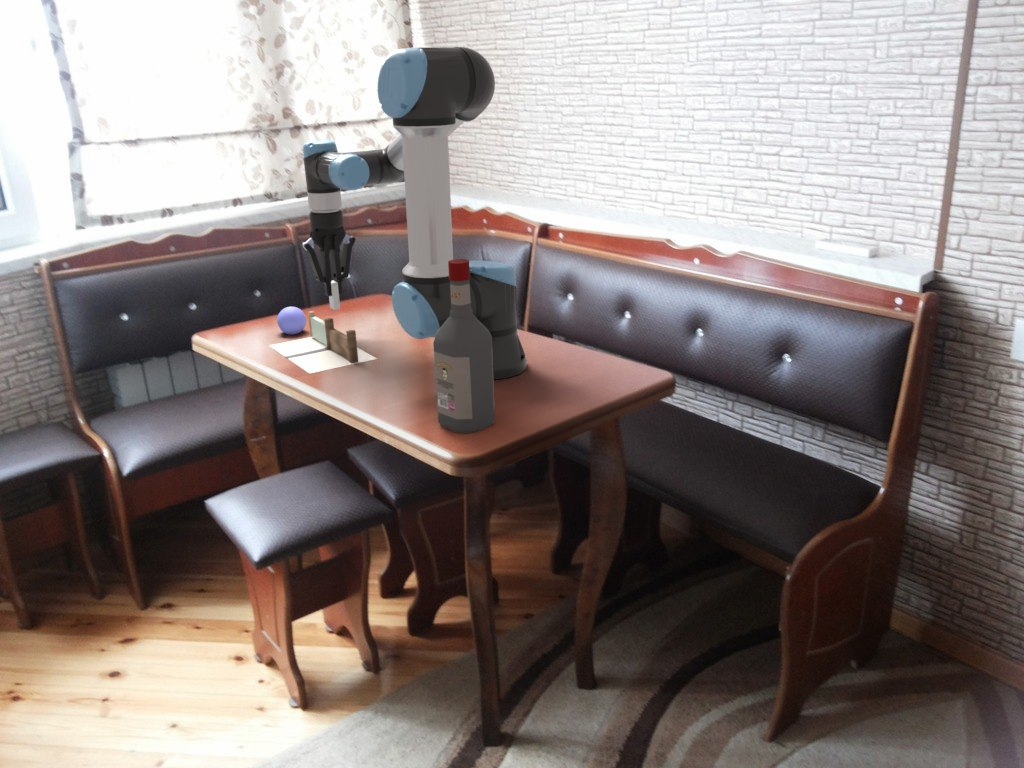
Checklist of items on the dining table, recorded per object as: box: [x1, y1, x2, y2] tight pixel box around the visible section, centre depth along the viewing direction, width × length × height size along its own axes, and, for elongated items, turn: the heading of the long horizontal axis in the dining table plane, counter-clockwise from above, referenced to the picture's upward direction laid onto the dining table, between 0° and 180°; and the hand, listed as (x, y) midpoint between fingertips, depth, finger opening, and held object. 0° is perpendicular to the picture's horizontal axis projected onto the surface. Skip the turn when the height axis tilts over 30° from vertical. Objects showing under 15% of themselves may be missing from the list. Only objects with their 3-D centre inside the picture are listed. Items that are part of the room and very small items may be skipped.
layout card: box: [268, 336, 378, 374], centre depth 201 cm, size 26×16×1 cm, turn 34°
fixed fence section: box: [323, 317, 358, 364], centre depth 197 cm, size 14×2×7 cm, turn 34°
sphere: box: [276, 306, 307, 336], centre depth 216 cm, size 7×7×7 cm
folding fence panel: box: [307, 310, 327, 345], centre depth 207 cm, size 10×2×6 cm, turn 34°
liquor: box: [433, 258, 496, 434], centre depth 154 cm, size 9×9×30 cm
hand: (335, 308), depth 210 cm, fingers closed
